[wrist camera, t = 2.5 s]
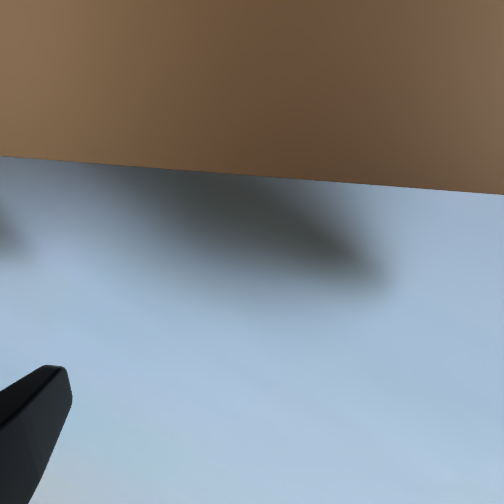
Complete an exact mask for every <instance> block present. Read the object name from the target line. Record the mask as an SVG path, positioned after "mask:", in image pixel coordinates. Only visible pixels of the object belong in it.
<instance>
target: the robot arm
mask: <svg viewBox="0 0 504 504" xmlns="http://www.w3.org/2000/svg"><path fill="white" fill-rule="evenodd" d="M71 405H72V391H71V387H70V383H69V378H68V374H67V371H66V369H65V368H64V367H61V366H53V365H44V366H41V367H39V368H38V369H36V370H34V371H33V372H31V373H30V374H28V375H26V376H25V377H23V378H21V379H20V380H18V381H16V382H15V383H13V384H11V385H10V386H8V387H7V388H5V389H3V390H2V391H0V504H28V503H29V501H30V499H31V497H32V496H33V494H34V492H35V490H36V488H37V486H38V484H39V482H40V480H41V478H42V475H43V473H44V471H45V469H46V466H47V464H48V462H49V459H50V457H51V454H52V452H53V449H54V447H55V445H56V442H57V440H58V437H59V435H60V432H61V430H62V428H63V425H64V423H65V420H66V418H67V416H68V413H69V411H70V408H71Z"/></svg>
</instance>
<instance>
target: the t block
mask: <svg viewBox="0 0 504 504" xmlns="http://www.w3.org/2000/svg"><path fill="white" fill-rule="evenodd" d="M0 156H7V157H20V158H33V159H46V160H59V161H72V162H85V163H98V164H111V165H124V166H137V167H150V168H163V169H176V170H188V171H201V172H214V173H227V174H240V175H253V176H266V177H279V178H292V179H305V180H318V181H331V182H344V183H357V184H370V185H383V186H396V187H409V188H422V189H435V190H447V191H460V192H473V193H486V194H499V195H504V0H0Z"/></svg>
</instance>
